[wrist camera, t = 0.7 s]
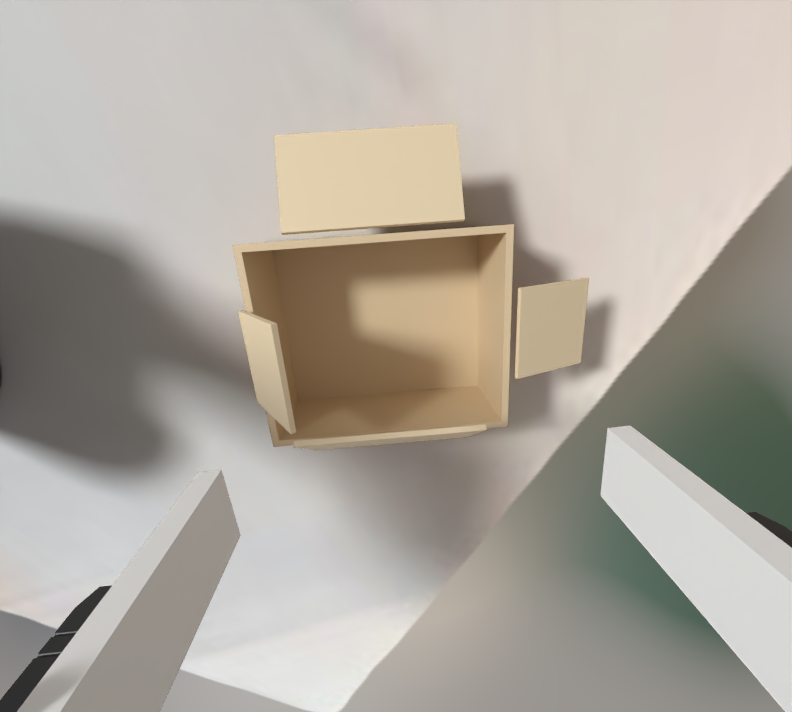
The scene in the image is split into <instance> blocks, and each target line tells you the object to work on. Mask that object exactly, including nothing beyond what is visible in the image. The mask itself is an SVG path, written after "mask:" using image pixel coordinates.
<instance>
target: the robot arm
mask: <svg viewBox="0 0 792 712" xmlns="http://www.w3.org/2000/svg"><path fill="white" fill-rule="evenodd" d="M601 497H602V498H603V499H604V500H605V501H606V502H607V504H608V505H609V506H610V507H611V508H612V510H613V511H614V512H615V513H616V514H617V515H618V517H619V518H620V519H621V520H622V521H623V522H624V523H625V525H626V526H627V527H628V528H629V529H630V531H631V532H632V533H633V534H634V535H635V536H636V538H637V539H638V540H639V541H640V542H641V543H642V545H643V546H644V547H645V548H646V549H647V550H648V552H649V553H650V554H651V555H652V556H653V557H654V559H655V560H656V561H657V562H658V563H659V565H661V567H662V568H663V569H664V570H665V572H667V574H668V575H669V576H670V577H671V579H672V580H673V581H674V582H675V583H676V584H677V586H678V587H679V588H680V589H681V590H682V591H683V593H684V594H685V595H686V596H687V597H688V598H689V600H690V601H691V602H692V603H693V604H694V605H695V606H696V608H697V609H698V610H699V611H700V612H701V614H702V615H703V616H704V617H705V618H706V619H707V621H708V622H709V623H710V624H711V625H712V627H713V628H714V629H715V630H716V631H717V632H718V634H720V636H721V637H722V638H723V639H724V641H725V642H726V643H727V644H728V645H729V646H730V648H731V649H732V650H733V651H734V652H735V653H736V655H737V656H739V658H740V659H741V660H742V662H743V663H744V664H745V665H746V666H747V667H748V669H749V670H750V671H751V672H752V673H753V675H755V677H756V678H757V679H758V680H759V681H760V683H761V684H762V685H763V686H764V687H765V689H766V690H767V691H768V692H769V693H770V694H771V696H772V697H773V698H774V699H775V700H776V701H777V703H778V704H779V705H780V706H781V707H782V708H783V710H784V711H785V712H792V531H790V530H788V529H787V528H786V527H784V526H782V525H781V524H778V523H776V522H774V521H772V520H770V519H768V518H766V517H764V516H762V515H760V514H758V513H756V512H752V513H745V512H744V511H742V510H741V509H740V508H738V507H737V506H736V505H734V504H733V503H732V502H730V501H729V500H728V499H726V498H725V497H724V496H722V495H721V494H720V493H718V492H717V491H716V490H715V489H713V488H712V487H710V486H709V485H708V484H707V483H705V482H704V481H703V480H701V479H700V478H699V477H697V476H696V475H695V474H693V473H692V472H691V471H689V470H688V469H687V468H685V467H684V466H683V465H682V464H680V463H679V462H678V461H676V460H675V459H673V458H672V457H671V456H670V455H668V454H667V453H665V452H664V451H663V450H662V449H660V448H659V447H658V446H656V445H655V444H654V443H652V442H651V441H650V440H648V439H647V438H646V437H644V436H643V435H642V434H641V433H639V432H638V431H636V430H635V429H634V428H633V427H631V426H623V427H614V428H608V430H607V440H606V449H605V458H604V468H603V477H602V486H601ZM239 537H240V532H239V528H238V525H237V522H236V518H235V515H234V511H233V508H232V504H231V501H230V498H229V494H228V491H227V487H226V484H225V480H224V477H223V474H222V470H214V471H204V472H198V473H197V474H196V476H195V477H194V478H193V480H192V481H191V482H190V483H189V485H188V486H187V487H186V489H185V490H184V491H183V493H182V494H181V495H180V497H179V498H178V499H177V501H176V502H175V503H174V505H173V506H172V507H171V509H170V510H169V511H168V513H167V514H166V515H165V517H164V518H163V519H162V520H161V522H160V523H159V524H158V526H157V527H156V528H155V530H154V531H153V532H152V534H151V535H150V536H149V538H148V539H147V540H146V542H145V543H144V544H143V546H142V547H141V548H140V550H139V551H138V552H137V554H136V555H135V556H134V557H133V559H132V560H131V561H130V563H129V564H128V565H127V567H126V568H125V569H124V571H123V572H122V573H121V575H120V576H119V577H118V579H117V580H116V581H115V583H114V584H113V585H112V586H103V587H99V588H98V589H97V590H95V591H94V592H93V593H92V594H91V595H90V596H88V597H87V598H86V599H85V600H84V601H83V602H81V603H80V604H79V605H78V606H77V607H76V608H75V609H74V610H73V611H72V612H71V614H70V615H69V616H68V617H67V618H66V620H65V621H64V622H63V623H62V625H61V626H60V627H59V628H58V630H57V631H56V632H55V636H54V637H51V638H50V639H49V641H48V642H47V643H46V644H45V646H44V647H43V648H42V649H41V651H40V652H39V655H38V657H37V658H35V659H33V660H32V662H31V663H30V664H29V665H28V667H27V668H26V669H25V670H24V671H23V673H22V674H21V675H20V676H19V678H18V679H17V680H16V681H15V683H14V684H13V685H12V686H11V688H10V689H9V690H8V691H7V692H6V694H5V695H4V696H3V698H2V699H1V700H0V712H160V711H161V708H162V706H163V704H164V702H165V699H166V697H167V695H168V693H169V691H170V689H171V686H172V684H173V682H174V680H175V678H176V676H177V673H178V671H179V669H180V667H181V665H182V662H183V660H184V658H185V656H186V654H187V651H188V649H189V647H190V645H191V643H192V640H193V638H194V636H195V634H196V632H197V630H198V627H199V625H200V623H201V621H202V619H203V616H204V614H205V612H206V610H207V608H208V605H209V603H210V601H211V599H212V597H213V594H214V592H215V590H216V588H217V586H218V584H219V581H220V579H221V577H222V575H223V573H224V570H225V568H226V566H227V564H228V562H229V559H230V557H231V555H232V553H233V551H234V548H235V546H236V544H237V542H238V540H239Z"/></svg>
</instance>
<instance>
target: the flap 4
mask: <svg viewBox="0 0 792 712" xmlns="http://www.w3.org/2000/svg"><path fill="white" fill-rule="evenodd" d="M588 285H589V278H581V279H574V280H568V281H561V282H554V283H548V284H541V285H534V286H527V287H521V288H518V306H517V332H516V359H515V378H517V379H520V378H524V377H528V376H532V375H535V374H539V373H543V372H547V371H551V370H555V369H559V368H563V367H567V366H571V365H574V364H578V363H581V356H582V346H583V336H584V325H585V315H586V305H587V295H588Z"/></svg>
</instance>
